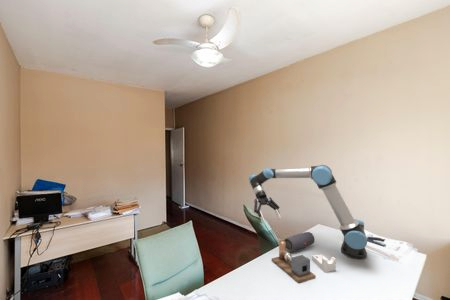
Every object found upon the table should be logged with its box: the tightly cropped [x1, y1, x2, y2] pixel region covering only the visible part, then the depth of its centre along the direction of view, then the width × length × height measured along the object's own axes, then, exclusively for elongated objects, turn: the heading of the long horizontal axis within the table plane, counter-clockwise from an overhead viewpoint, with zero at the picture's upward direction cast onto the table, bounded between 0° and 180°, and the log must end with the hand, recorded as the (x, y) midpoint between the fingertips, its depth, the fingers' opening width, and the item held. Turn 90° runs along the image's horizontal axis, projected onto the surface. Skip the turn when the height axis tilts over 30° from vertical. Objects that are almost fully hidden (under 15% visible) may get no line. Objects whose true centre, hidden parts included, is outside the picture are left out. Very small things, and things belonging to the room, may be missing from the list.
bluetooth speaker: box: [283, 231, 316, 252], centre depth 149 cm, size 23×9×10 cm, turn 120°
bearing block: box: [291, 254, 311, 277], centre depth 118 cm, size 6×8×8 cm
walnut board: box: [271, 256, 316, 284], centre depth 124 cm, size 24×12×2 cm, turn 23°
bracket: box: [311, 254, 337, 273], centre depth 128 cm, size 13×7×8 cm, turn 9°
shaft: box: [278, 239, 293, 261], centre depth 126 cm, size 17×5×10 cm, turn 23°
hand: (271, 219), depth 142 cm, fingers open, 13 cm apart
